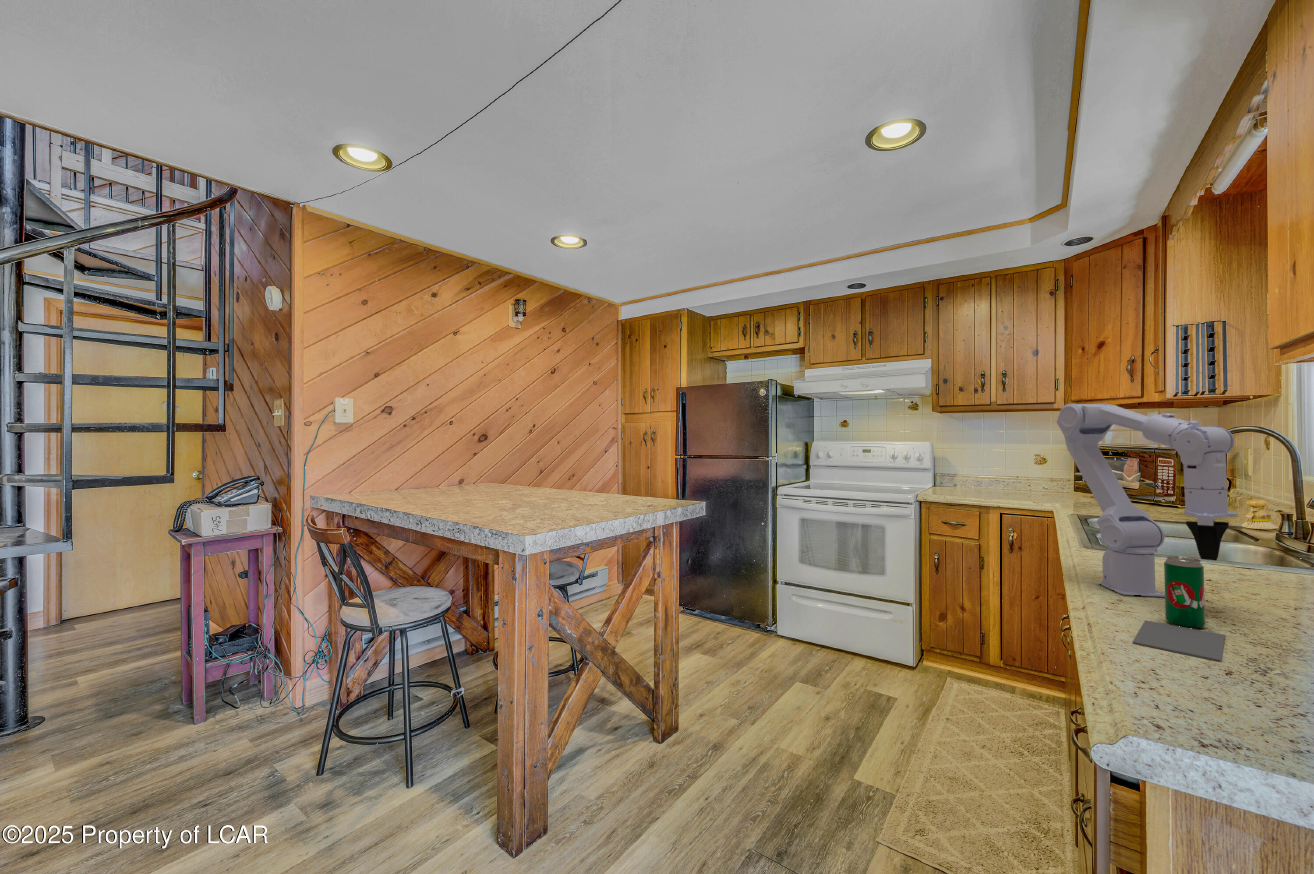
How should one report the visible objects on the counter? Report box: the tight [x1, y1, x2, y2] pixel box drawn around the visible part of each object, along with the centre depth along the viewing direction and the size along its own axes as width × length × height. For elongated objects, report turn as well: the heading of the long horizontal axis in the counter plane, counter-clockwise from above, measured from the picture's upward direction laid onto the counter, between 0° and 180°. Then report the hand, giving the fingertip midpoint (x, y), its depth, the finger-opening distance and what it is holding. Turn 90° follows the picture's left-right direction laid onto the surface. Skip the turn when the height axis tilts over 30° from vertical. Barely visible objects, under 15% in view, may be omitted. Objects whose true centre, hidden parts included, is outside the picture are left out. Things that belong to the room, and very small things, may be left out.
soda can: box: [1163, 555, 1206, 630], centre depth 95 cm, size 5×5×12 cm
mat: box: [1132, 619, 1226, 662], centre depth 88 cm, size 15×10×1 cm, turn 131°
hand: (1208, 559), depth 100 cm, fingers closed
